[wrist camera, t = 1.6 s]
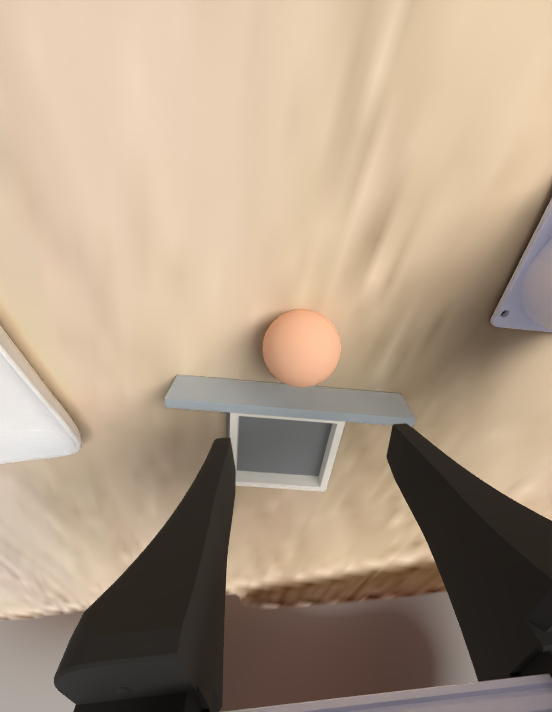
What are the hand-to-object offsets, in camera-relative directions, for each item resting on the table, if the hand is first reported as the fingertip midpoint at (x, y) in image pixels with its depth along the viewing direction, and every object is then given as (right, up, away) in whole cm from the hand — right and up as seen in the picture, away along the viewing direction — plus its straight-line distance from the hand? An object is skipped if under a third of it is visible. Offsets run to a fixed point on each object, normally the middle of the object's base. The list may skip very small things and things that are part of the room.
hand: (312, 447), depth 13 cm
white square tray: (-1, -4, +13) cm, 14 cm away
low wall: (0, +1, +10) cm, 10 cm away
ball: (0, +5, +6) cm, 7 cm away
